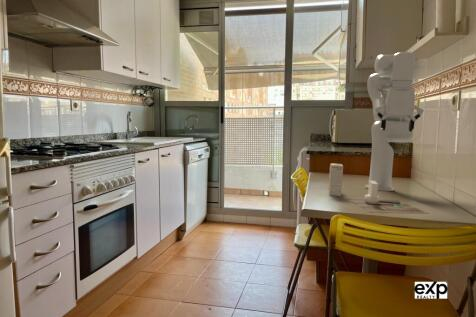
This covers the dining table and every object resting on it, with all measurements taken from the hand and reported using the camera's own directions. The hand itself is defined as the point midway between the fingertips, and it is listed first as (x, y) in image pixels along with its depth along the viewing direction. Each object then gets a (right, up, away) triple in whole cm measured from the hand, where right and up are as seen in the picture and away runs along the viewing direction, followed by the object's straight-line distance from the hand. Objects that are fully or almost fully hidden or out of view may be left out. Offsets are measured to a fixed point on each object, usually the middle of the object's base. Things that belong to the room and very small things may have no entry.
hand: (396, 130), depth 141 cm
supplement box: (-23, -26, +5) cm, 35 cm away
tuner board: (-10, -28, -12) cm, 32 cm away
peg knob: (-10, -27, -11) cm, 31 cm away
